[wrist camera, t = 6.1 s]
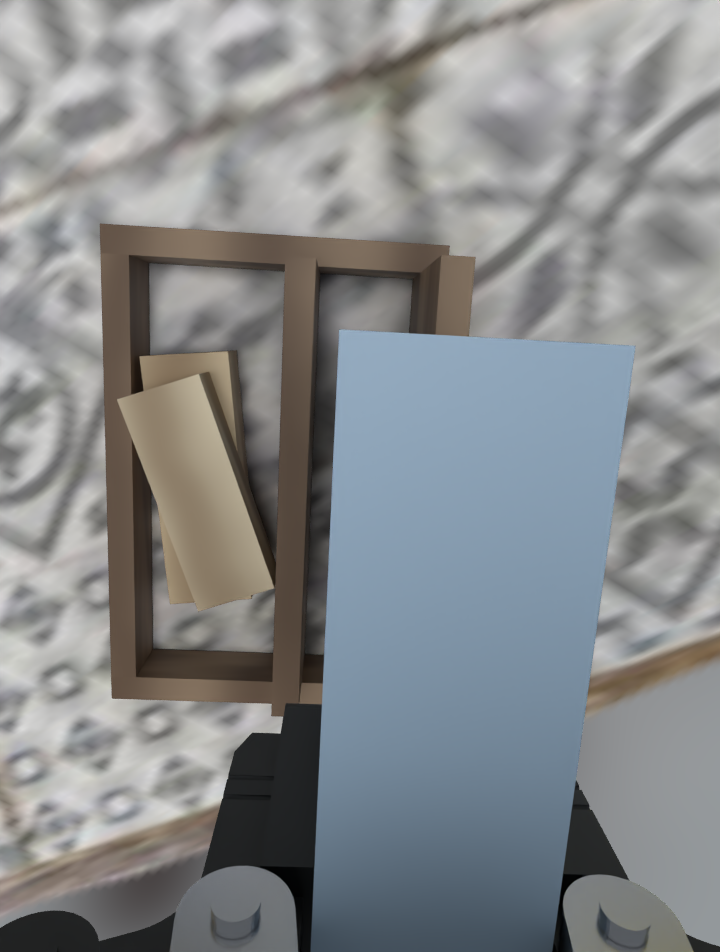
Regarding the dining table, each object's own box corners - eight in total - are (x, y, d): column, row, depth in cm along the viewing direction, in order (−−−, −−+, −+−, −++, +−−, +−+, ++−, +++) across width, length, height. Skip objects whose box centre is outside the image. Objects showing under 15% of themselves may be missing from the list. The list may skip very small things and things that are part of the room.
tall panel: (418, 342, 21) (636, 345, 5) (391, 727, 24) (483, 1457, 8) (341, 338, 21) (339, 330, 5) (323, 725, 24) (286, 1460, 8)
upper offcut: (208, 371, 30) (198, 374, 27) (278, 569, 32) (274, 588, 29) (133, 394, 30) (116, 399, 27) (208, 590, 32) (198, 611, 29)
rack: (439, 254, 31) (478, 221, 22) (406, 678, 36) (429, 787, 27) (122, 234, 31) (35, 192, 22) (130, 668, 35) (61, 778, 26)
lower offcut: (237, 350, 32) (228, 351, 29) (258, 577, 35) (251, 598, 32) (157, 354, 32) (139, 356, 29) (184, 581, 35) (170, 604, 32)
